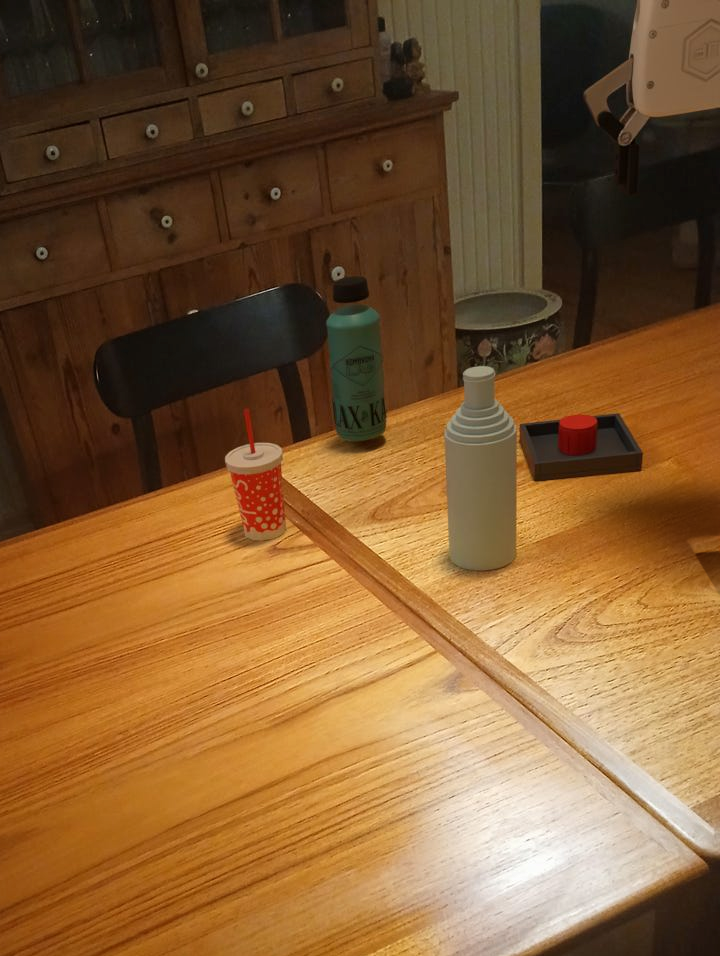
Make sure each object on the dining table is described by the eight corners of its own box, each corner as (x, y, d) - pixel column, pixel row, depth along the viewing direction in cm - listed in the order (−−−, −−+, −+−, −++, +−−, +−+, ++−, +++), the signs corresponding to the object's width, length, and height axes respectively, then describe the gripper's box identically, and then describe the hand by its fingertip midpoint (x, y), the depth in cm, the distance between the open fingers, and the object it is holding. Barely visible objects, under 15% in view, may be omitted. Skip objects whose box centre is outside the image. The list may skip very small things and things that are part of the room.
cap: (564, 457, 110) (564, 430, 108) (554, 443, 113) (555, 417, 111) (600, 452, 109) (601, 425, 108) (589, 438, 113) (591, 412, 111)
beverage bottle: (327, 442, 125) (309, 281, 114) (373, 427, 127) (360, 267, 116) (352, 458, 120) (336, 291, 109) (399, 442, 121) (388, 276, 110)
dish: (618, 429, 115) (619, 412, 114) (641, 470, 106) (643, 452, 104) (519, 440, 117) (519, 423, 115) (534, 481, 107) (534, 463, 106)
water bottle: (510, 535, 99) (510, 354, 88) (521, 567, 93) (522, 379, 83) (445, 541, 100) (438, 363, 89) (453, 574, 94) (446, 388, 84)
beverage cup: (232, 525, 110) (211, 406, 102) (285, 512, 110) (268, 393, 103) (244, 549, 105) (223, 425, 97) (299, 535, 105) (282, 412, 98)
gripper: (598, -36, 73) (590, 208, 83) (848, -83, 71) (812, 174, 80) (578, -35, 80) (573, 192, 89) (808, -78, 77) (778, 161, 86)
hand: (686, 183), depth 84 cm, fingers open, 9 cm apart
